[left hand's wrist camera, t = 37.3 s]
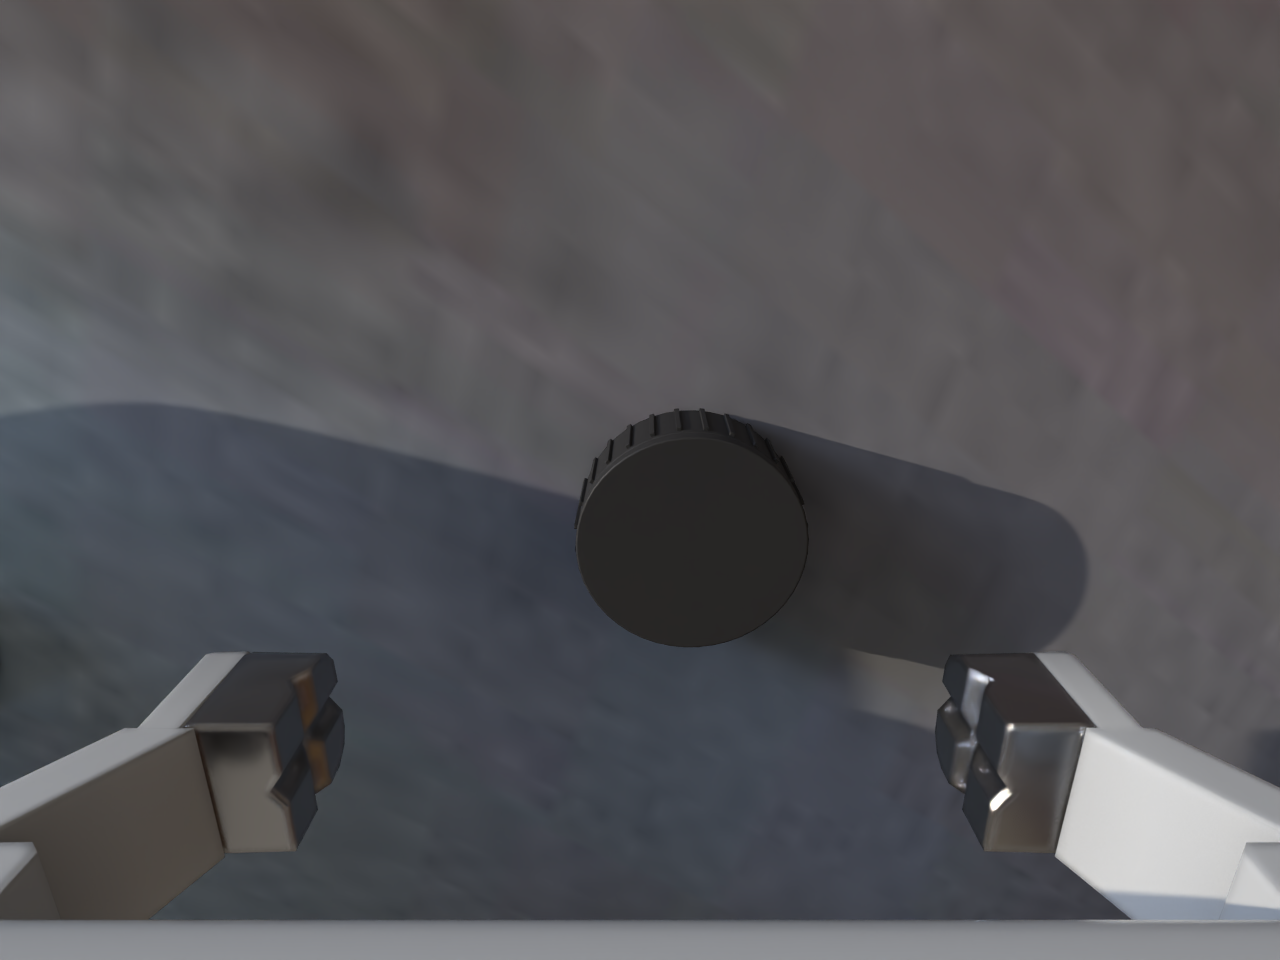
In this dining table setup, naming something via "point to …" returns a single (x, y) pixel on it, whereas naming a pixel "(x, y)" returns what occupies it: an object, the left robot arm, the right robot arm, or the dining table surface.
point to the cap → (690, 529)
